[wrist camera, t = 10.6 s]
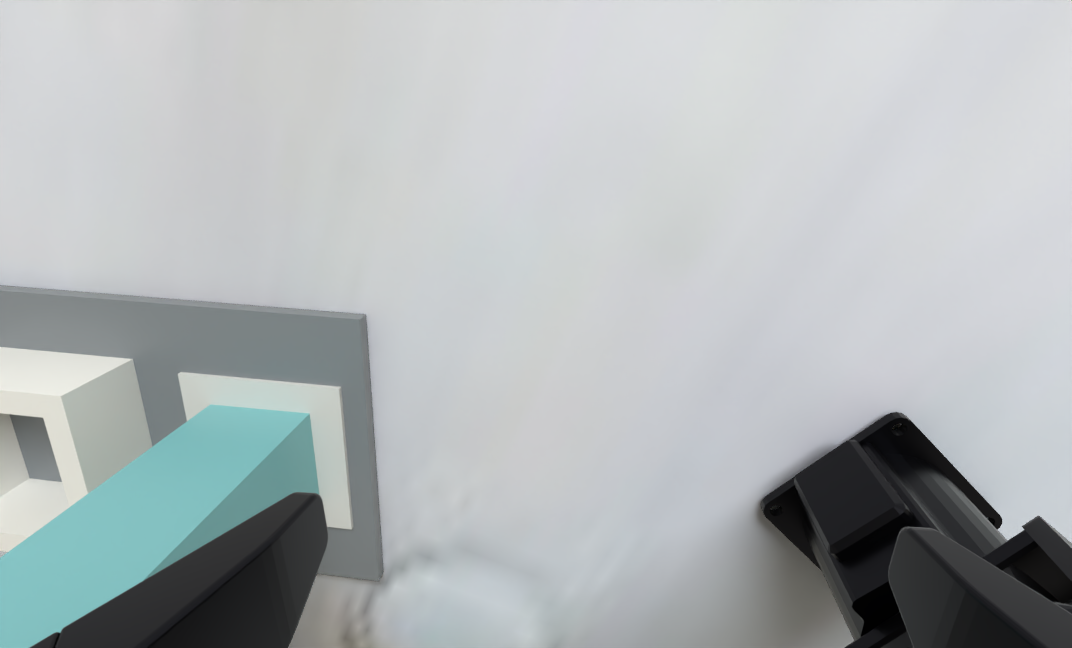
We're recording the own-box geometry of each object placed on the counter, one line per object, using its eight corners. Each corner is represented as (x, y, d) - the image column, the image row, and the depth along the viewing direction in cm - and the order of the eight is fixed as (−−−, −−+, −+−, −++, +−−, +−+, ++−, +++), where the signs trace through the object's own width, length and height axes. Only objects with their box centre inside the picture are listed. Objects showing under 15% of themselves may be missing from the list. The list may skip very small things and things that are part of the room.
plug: (309, 413, 24) (-2, 725, 12) (320, 501, 25) (54, 858, 13) (210, 404, 24) (-189, 695, 12) (226, 491, 26) (-114, 827, 14)
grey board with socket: (365, 314, 23) (318, 354, 19) (383, 571, 27) (347, 644, 24) (-61, 280, 25) (-180, 310, 21) (22, 526, 29) (-64, 587, 25)
